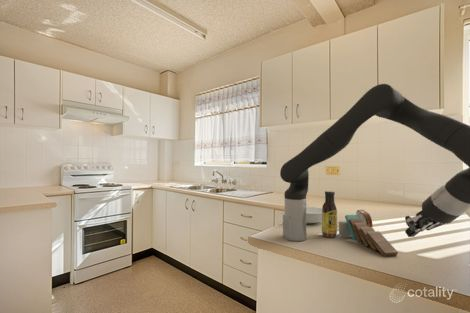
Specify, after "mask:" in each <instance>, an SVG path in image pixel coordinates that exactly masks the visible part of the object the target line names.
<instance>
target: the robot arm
mask: <svg viewBox="0 0 470 313" xmlns="http://www.w3.org/2000/svg"><path fill="white" fill-rule="evenodd" d="M374 116H376V117H378V118H382V119H386V120H388V121H392V122H395V123H397V124H400V125H403V126H405V127H407V128H409V129H411V130H413V131H414V132H415V133H418V134H419V135H421V137H424V138H425V139H426V140H429V141H430V142H432V143H434V144H436V145H437V146H439V147H441V148H443V149H445V150H446V151H448V152H451V153H452V154H453V155H455V156H456V158H458V159H459V160H460V161H462V162H463V163H464V164H465V165H466V166H467V167H468V168H465V169H463V170H460V171H459V172H457V173H456V174H455V175H453V176H452V177H451V178H450V179H449V180H448V181H447V182H445V184H443V185H441V186H440V187H439V188H437V189H436V190H434V192H433V193H431V195H429V196H428V197H427V198H426V199H425V200H424V201H423V202H422V203H421V210H420V211H418V212H417V213H415V216H410V215H406V216H405V217H404V219H405V224H406V226H407V229H405V230H404V233H405V234H406V236H407V237H408V238H413V237H415V236H417V235H418V234H419V233H422V232H424V231H432V230H433V229H436V228H439V227H440V226H443V225H446V224H451V223H452V222H453V221H455V220H456V219H457V218H459V217H461V216H462V215H464V214H465V213H466V212H467V211H469V210H470V125H469V124H467V123H464V122H463V121H460V120H458V119H454V118H452V117H450V116H447V115H444V114H441V113H437V112H434V111H431V110H428V109H425V108H422V107H420V106H418V105H416V104H414V103H413V102H412V101H410V100H409V99H407V98H406V97H405V96H403V95H402V93H401V92H400V91H398V90H397V89H396V88H395V87H393V86H391V85H390V84H387V83H379V84H377V85H375V86H372V87H371V88H369V89H368V90H367V91H366V92H365V93H364V94H363V95H362V96H361V97H360V98H359V100H357V102H355V104H354V105H353V106H352V107H350V109H349V110H347V112H345V113H344V114H343V115H342V116H341V117H339V119H338V120H337V121H335V122H334V123H333V124H332V125H331V126H329V127H328V128H327V129H326V130H325V131H323V132H322V133H320V135H318V137H317V138H316V139H314V140H313V141H312V142H311V143H309V145H307V146H306V147H305V148H304V149H303V150H302V151H300V152H299V153H298V154H296V155H295V156H294V157H292V158H291V159H289V160H288V161H286V162H285V163H283V165H282V166H281V168H280V173H279V174H280V175H279V176H280V178H281V179H282V180H283V182H285V183H288V184H289V187H288V188H287V189H286V190H285V191H284V196H283V197H284V214H282V236H283V238H285V239H286V240H287V241H294V242H301V241H302V242H303V241H306V240H307V223H306V206H307V194H308V191H309V176H310V174H309V169H310V168H312V167H313V166H316V165H318V164H320V163H323V162H324V161H326V160H328V159H331V158H332V157H334V156H335V155H337V154H338V153H339V152H341V151H342V150H344V149H345V148H346V147H347V146H348V145H350V142H351V141H352V139H353V137H354V136H355V133H356V132H357V130H358V129H359V128H360V127H361V126H362V125H363V124H364V123H365V122H367V121H369V119H371V118H372V117H374Z"/></svg>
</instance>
